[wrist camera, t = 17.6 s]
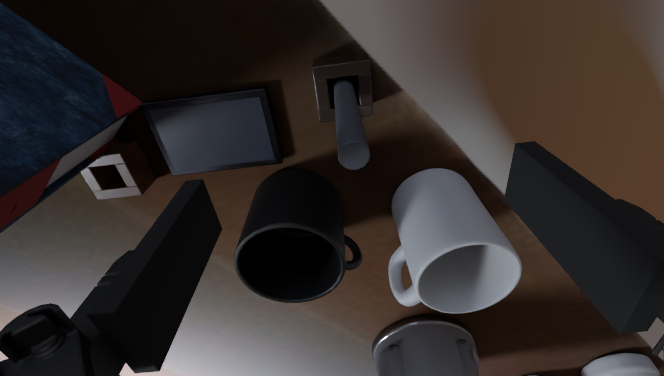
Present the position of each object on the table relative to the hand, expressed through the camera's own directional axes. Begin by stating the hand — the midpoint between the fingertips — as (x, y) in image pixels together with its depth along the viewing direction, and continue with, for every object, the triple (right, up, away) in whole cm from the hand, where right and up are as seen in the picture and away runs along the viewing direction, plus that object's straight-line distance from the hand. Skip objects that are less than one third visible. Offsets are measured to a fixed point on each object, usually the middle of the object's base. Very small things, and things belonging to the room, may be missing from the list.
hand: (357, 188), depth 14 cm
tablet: (-12, +5, +16) cm, 20 cm away
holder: (0, +9, +14) cm, 16 cm away
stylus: (0, +9, +14) cm, 16 cm away
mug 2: (+9, -3, +21) cm, 23 cm away
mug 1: (-4, -2, +21) cm, 22 cm away
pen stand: (-21, +3, +18) cm, 28 cm away
